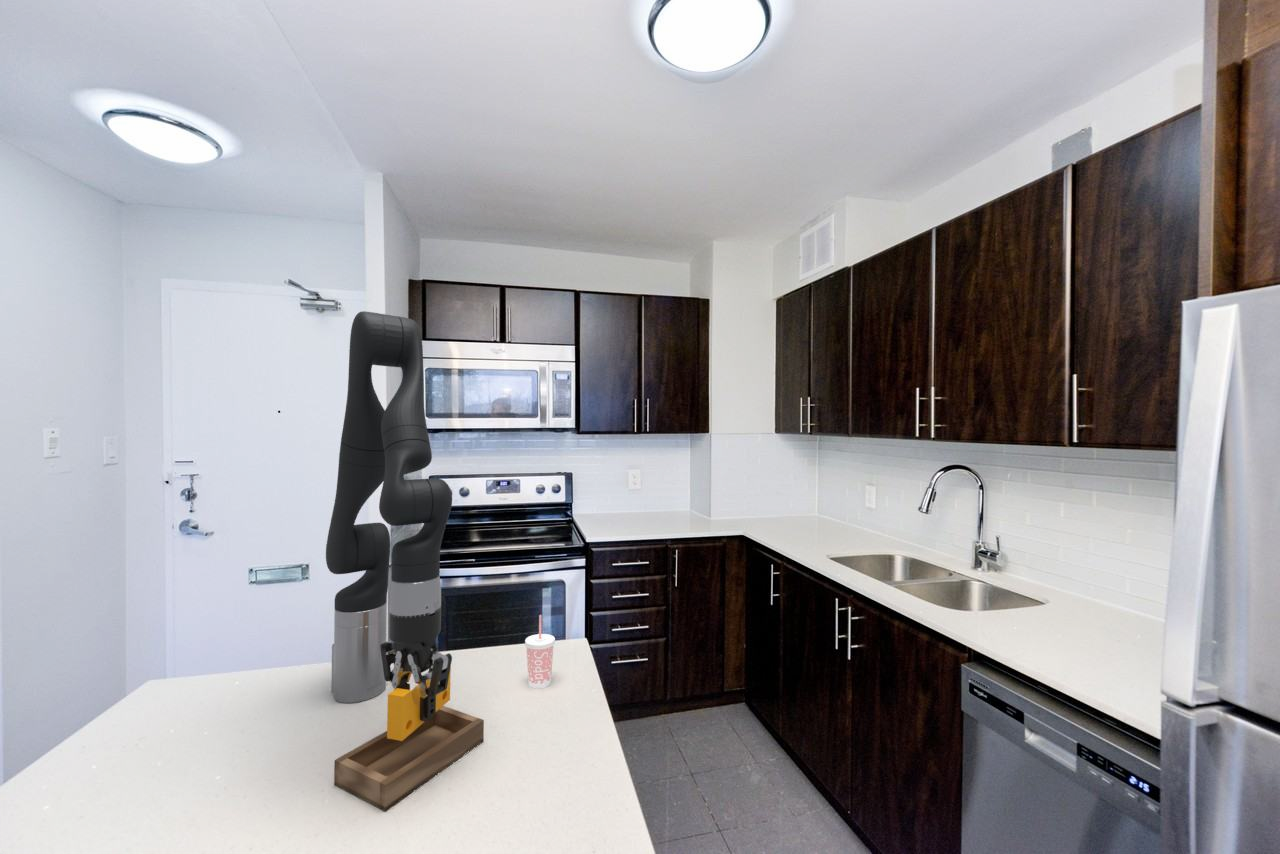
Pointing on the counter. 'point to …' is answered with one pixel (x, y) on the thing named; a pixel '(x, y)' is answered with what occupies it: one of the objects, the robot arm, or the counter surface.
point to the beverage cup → (539, 658)
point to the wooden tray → (407, 758)
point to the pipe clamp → (409, 710)
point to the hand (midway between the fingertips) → (414, 713)
